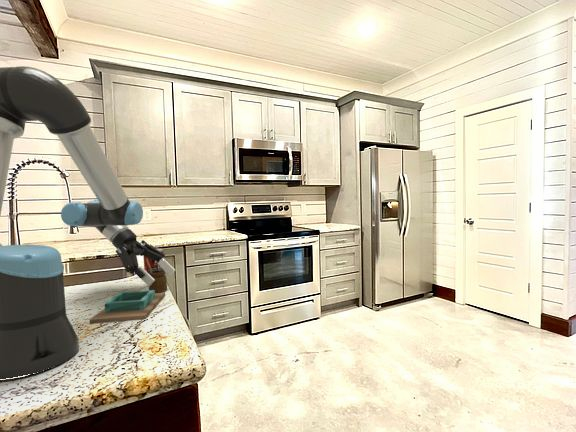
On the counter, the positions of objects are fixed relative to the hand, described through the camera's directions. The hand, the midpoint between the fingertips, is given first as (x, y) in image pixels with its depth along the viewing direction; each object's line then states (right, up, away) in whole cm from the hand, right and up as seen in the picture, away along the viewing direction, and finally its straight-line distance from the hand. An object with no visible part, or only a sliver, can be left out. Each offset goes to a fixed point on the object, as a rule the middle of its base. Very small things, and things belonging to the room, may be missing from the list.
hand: (163, 277), depth 108 cm
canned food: (-13, -4, +23) cm, 27 cm away
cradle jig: (-3, -6, -16) cm, 17 cm away
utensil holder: (-2, -5, +1) cm, 5 cm away
